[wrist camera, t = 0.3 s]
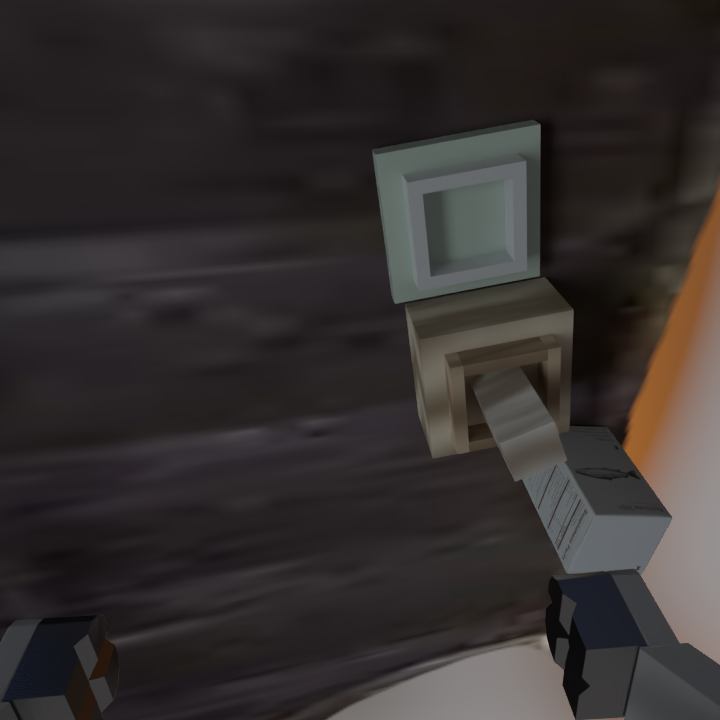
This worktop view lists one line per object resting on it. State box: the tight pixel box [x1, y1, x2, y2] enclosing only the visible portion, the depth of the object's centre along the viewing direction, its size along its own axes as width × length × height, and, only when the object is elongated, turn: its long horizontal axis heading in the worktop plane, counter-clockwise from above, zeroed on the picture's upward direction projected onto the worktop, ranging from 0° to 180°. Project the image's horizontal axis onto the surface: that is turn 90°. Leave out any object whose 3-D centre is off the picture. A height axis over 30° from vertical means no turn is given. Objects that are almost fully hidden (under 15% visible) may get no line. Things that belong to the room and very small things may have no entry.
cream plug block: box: [469, 366, 567, 481], centre depth 49 cm, size 4×4×8 cm
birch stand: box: [405, 277, 574, 458], centre depth 54 cm, size 12×12×8 cm
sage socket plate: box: [372, 120, 541, 304], centre depth 49 cm, size 12×12×4 cm
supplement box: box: [522, 426, 672, 575], centre depth 60 cm, size 7×7×13 cm
